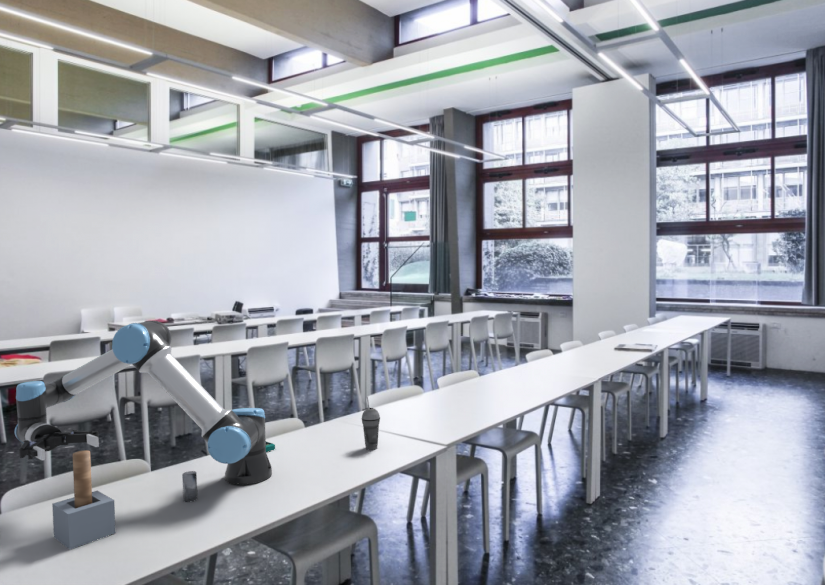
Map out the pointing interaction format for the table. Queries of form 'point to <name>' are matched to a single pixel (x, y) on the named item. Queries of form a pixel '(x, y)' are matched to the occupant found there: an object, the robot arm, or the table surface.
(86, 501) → the long walnut pin
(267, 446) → the digital multimeter
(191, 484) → the short steel pin
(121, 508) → the table surface
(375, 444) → the beverage cup
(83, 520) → the collar block
